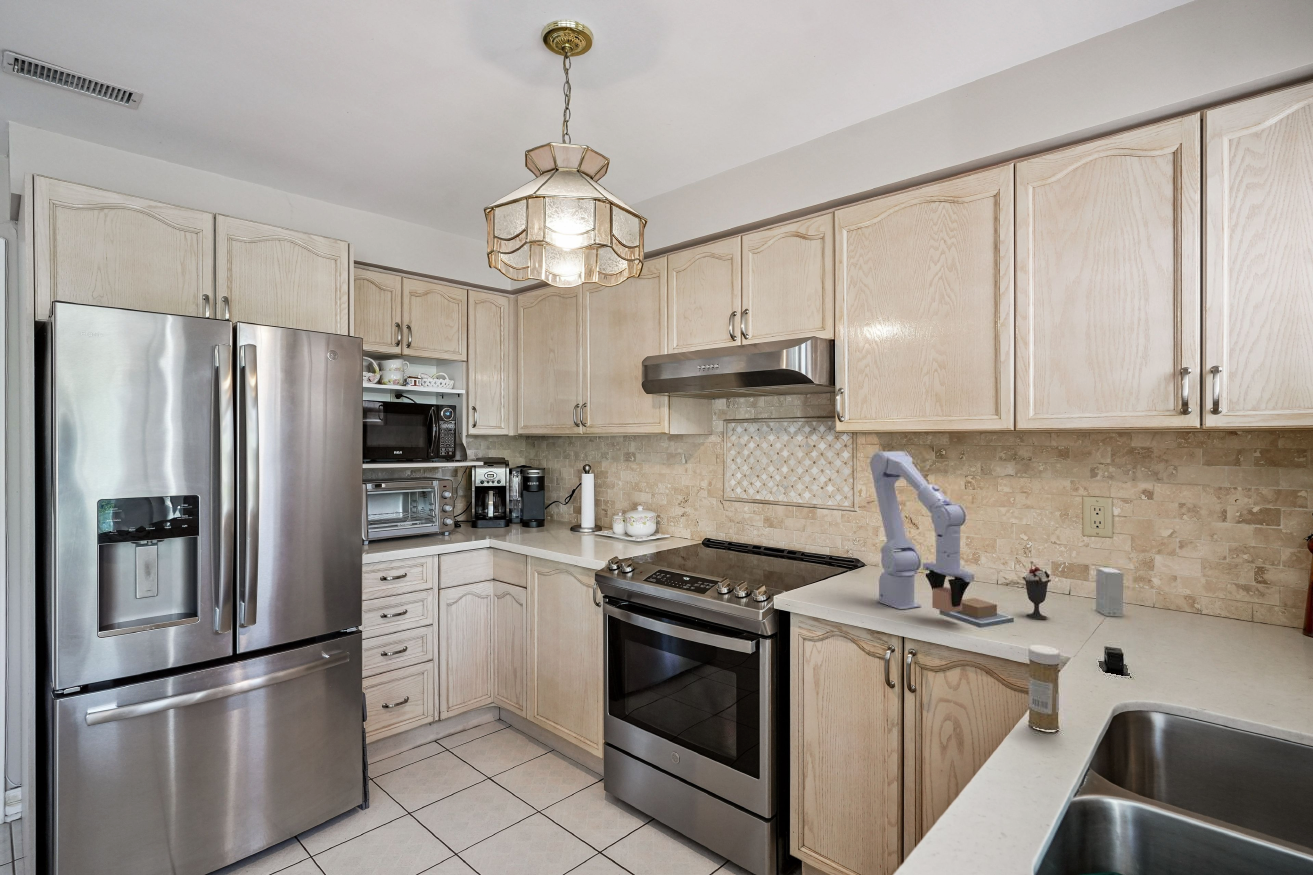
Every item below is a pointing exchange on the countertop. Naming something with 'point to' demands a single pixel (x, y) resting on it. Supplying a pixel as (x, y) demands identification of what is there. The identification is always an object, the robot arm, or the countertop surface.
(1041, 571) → the sundae
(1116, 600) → the skincare box
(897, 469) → the robot arm
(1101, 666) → the black blocky piece
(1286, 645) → the countertop surface
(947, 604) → the terracotta block
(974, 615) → the blueprint board
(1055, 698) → the sprinkles bottle
